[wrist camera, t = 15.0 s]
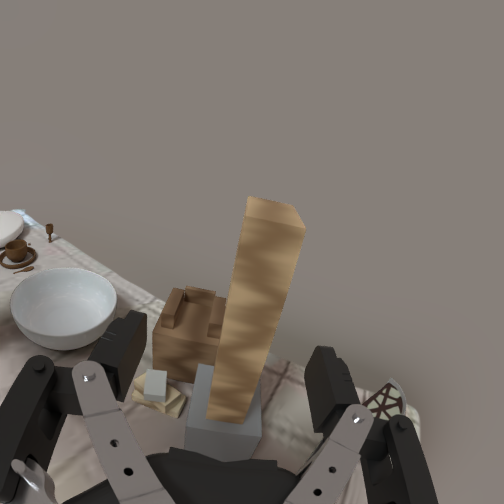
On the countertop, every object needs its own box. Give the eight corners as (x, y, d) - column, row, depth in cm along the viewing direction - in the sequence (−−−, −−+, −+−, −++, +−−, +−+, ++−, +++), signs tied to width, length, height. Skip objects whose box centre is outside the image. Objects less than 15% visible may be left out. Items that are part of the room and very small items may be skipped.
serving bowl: (43, 385, 29) (30, 353, 26) (8, 313, 38) (0, 283, 35) (141, 337, 46) (140, 306, 43) (86, 285, 55) (85, 258, 52)
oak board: (205, 418, 26) (245, 215, 18) (212, 374, 32) (248, 195, 24) (242, 424, 26) (306, 228, 18) (244, 379, 32) (292, 205, 24)
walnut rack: (153, 374, 39) (152, 317, 34) (167, 336, 48) (170, 282, 44) (216, 387, 39) (227, 333, 35) (221, 347, 49) (232, 294, 44)
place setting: (-3, 252, 55) (-5, 233, 52) (52, 240, 70) (52, 222, 68) (2, 280, 46) (-2, 257, 44) (68, 263, 62) (67, 242, 60)
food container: (341, 481, 26) (379, 447, 22) (312, 453, 30) (343, 415, 27) (388, 437, 33) (422, 398, 30) (363, 416, 38) (392, 375, 34)
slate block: (183, 455, 27) (185, 426, 24) (194, 398, 36) (198, 363, 33) (247, 463, 28) (261, 436, 25) (247, 407, 37) (259, 373, 34)
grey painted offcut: (147, 375, 34) (146, 368, 34) (166, 377, 35) (166, 371, 34) (144, 400, 30) (143, 393, 30) (165, 402, 31) (165, 396, 30)
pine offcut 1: (134, 388, 34) (133, 380, 33) (150, 377, 36) (149, 369, 36) (165, 413, 31) (165, 406, 30) (180, 401, 34) (181, 393, 33)
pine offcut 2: (132, 402, 33) (131, 394, 32) (142, 387, 36) (142, 379, 36) (177, 420, 33) (177, 413, 32) (185, 403, 36) (186, 395, 35)
